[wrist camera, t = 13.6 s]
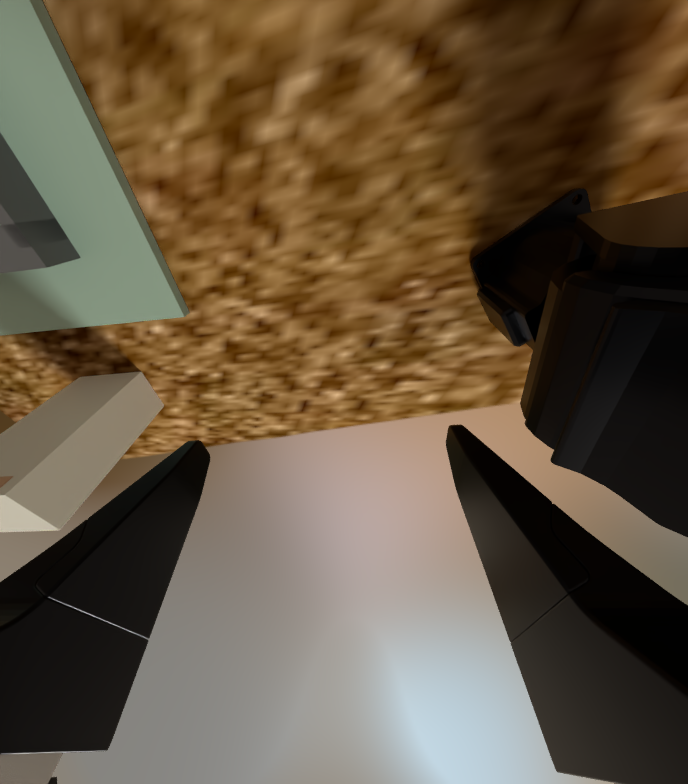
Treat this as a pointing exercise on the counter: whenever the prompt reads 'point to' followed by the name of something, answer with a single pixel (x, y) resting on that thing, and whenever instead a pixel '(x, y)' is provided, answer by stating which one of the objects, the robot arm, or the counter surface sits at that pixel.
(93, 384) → the plug
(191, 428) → the counter surface
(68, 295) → the green socket board
